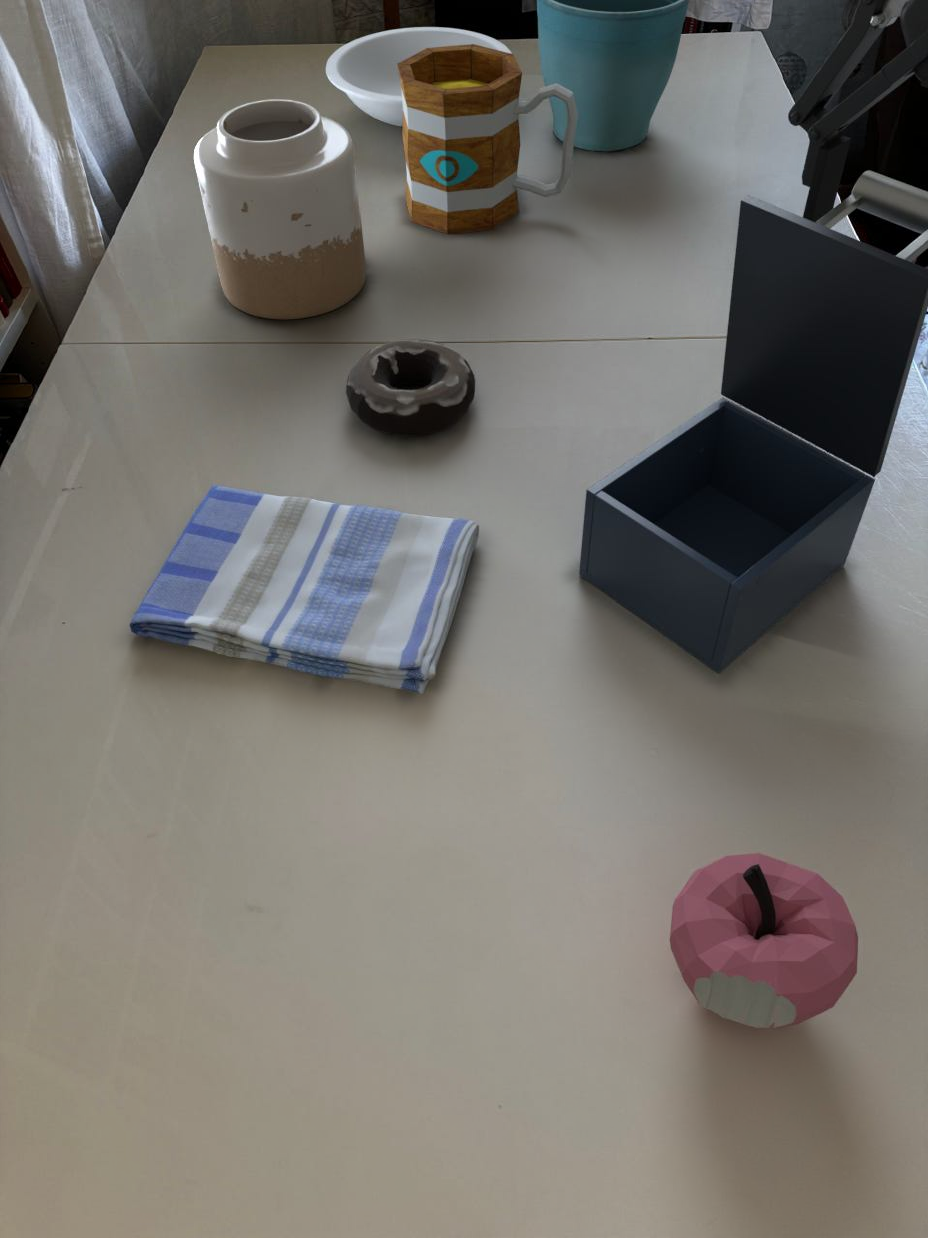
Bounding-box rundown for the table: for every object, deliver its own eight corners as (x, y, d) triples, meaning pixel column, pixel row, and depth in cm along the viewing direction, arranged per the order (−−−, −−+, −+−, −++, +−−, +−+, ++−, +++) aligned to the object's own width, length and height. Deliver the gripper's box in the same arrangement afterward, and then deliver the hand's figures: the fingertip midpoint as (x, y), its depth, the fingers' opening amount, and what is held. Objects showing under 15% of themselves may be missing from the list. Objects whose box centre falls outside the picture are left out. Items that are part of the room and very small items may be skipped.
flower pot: (685, 111, 136) (705, -36, 123) (659, 173, 124) (678, 17, 112) (551, 96, 140) (557, -48, 127) (514, 155, 128) (516, 3, 116)
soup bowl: (381, 67, 147) (377, 16, 142) (539, 91, 141) (541, 39, 136) (298, 138, 133) (290, 84, 128) (470, 168, 126) (469, 112, 121)
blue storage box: (718, 674, 74) (740, 590, 67) (578, 575, 80) (585, 489, 74) (844, 565, 80) (875, 479, 74) (705, 482, 87) (722, 396, 81)
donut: (491, 378, 98) (491, 341, 95) (452, 455, 90) (451, 418, 87) (375, 358, 100) (372, 322, 97) (329, 432, 93) (323, 395, 90)
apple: (635, 1011, 58) (656, 933, 50) (687, 884, 63) (712, 796, 56) (805, 1092, 55) (854, 1022, 47) (845, 951, 60) (895, 868, 52)
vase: (396, 273, 110) (383, 112, 98) (293, 338, 103) (265, 172, 90) (296, 230, 117) (272, 74, 104) (192, 288, 109) (153, 126, 97)
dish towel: (432, 704, 72) (430, 679, 70) (124, 646, 77) (114, 620, 74) (488, 536, 83) (488, 510, 81) (217, 493, 88) (210, 467, 86)
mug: (389, 228, 117) (378, 89, 106) (420, 173, 126) (413, 39, 114) (561, 245, 114) (569, 103, 102) (581, 188, 122) (590, 51, 111)
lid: (930, 279, 60) (1025, 197, 64) (740, 200, 67) (836, 130, 70) (874, 477, 73) (955, 400, 77) (720, 394, 80) (801, 327, 84)
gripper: (777, -118, 61) (719, 222, 77) (1214, -20, 49) (1038, 362, 65) (850, -143, 65) (779, 188, 81) (1277, -57, 52) (1094, 315, 68)
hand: (894, 266), depth 73 cm, fingers open, 13 cm apart
